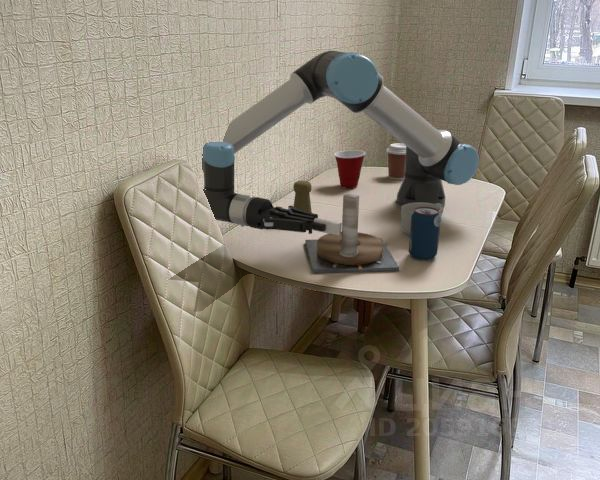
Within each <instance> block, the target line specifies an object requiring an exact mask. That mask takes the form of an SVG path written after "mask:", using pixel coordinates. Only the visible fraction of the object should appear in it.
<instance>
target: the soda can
mask: <svg viewBox="0 0 600 480" xmlns="http://www.w3.org/2000/svg"><path fill="white" fill-rule="evenodd" d="M440 220H441V221H442V217H441V218H440V215H439V211H438V210H437V209H435V208H431V207H417V208H415V210H414V213H413V214H412V216H411V227H410V236H409V240H408V249H407V250H408V254H409V255H410V258H412V259H413V260H416V261H419V262H428V261H429V260H430V261H432V260H434V259H433V258H435V257H436V256H437V254H438V249H439V240H440V239H439V238H440V228H441V226H440Z"/></svg>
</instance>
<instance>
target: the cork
mask: <svg viewBox="0 0 600 480" xmlns="http://www.w3.org/2000/svg"><path fill="white" fill-rule="evenodd" d="M293 191H294V193H295V194H294V201H293V205H292V206H293V207H295V208H297V209H301V210H304V211H307V212H310V213H313V211H312V202H311V195H310V193H311V191H312V183H311V182H310V181H308V180H297V181H295V182H294V184H293Z"/></svg>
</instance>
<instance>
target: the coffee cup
mask: <svg viewBox="0 0 600 480" xmlns="http://www.w3.org/2000/svg"><path fill="white" fill-rule="evenodd" d="M385 152H386V153H387V159H388V160H387V161H388V162H387V163H388V164H387V166H388V167H387V170H388V172H387V173H388V175H387V177H388V179H390V180H394V181H395V180H396V181H403V179H404V172H405V157H406V145H405V144H403V143H399V142H398V143H391V144H389V147H388V148H386V151H385Z"/></svg>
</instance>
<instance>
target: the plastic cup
mask: <svg viewBox="0 0 600 480" xmlns="http://www.w3.org/2000/svg"><path fill="white" fill-rule="evenodd" d="M365 155H366V152H365V151H363V150H360V149H359V150H357V149H347V150H340V151H339V150H338V151H337V152H334V154H333V156H334V158H335V161H336V165H337V166H336V167H337V172H338V178H339V179H338V180H339V186H340V188H343V189H355V188H358V186H359V180H360V176H361V172H362V167H363V162H364V158H365Z"/></svg>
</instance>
